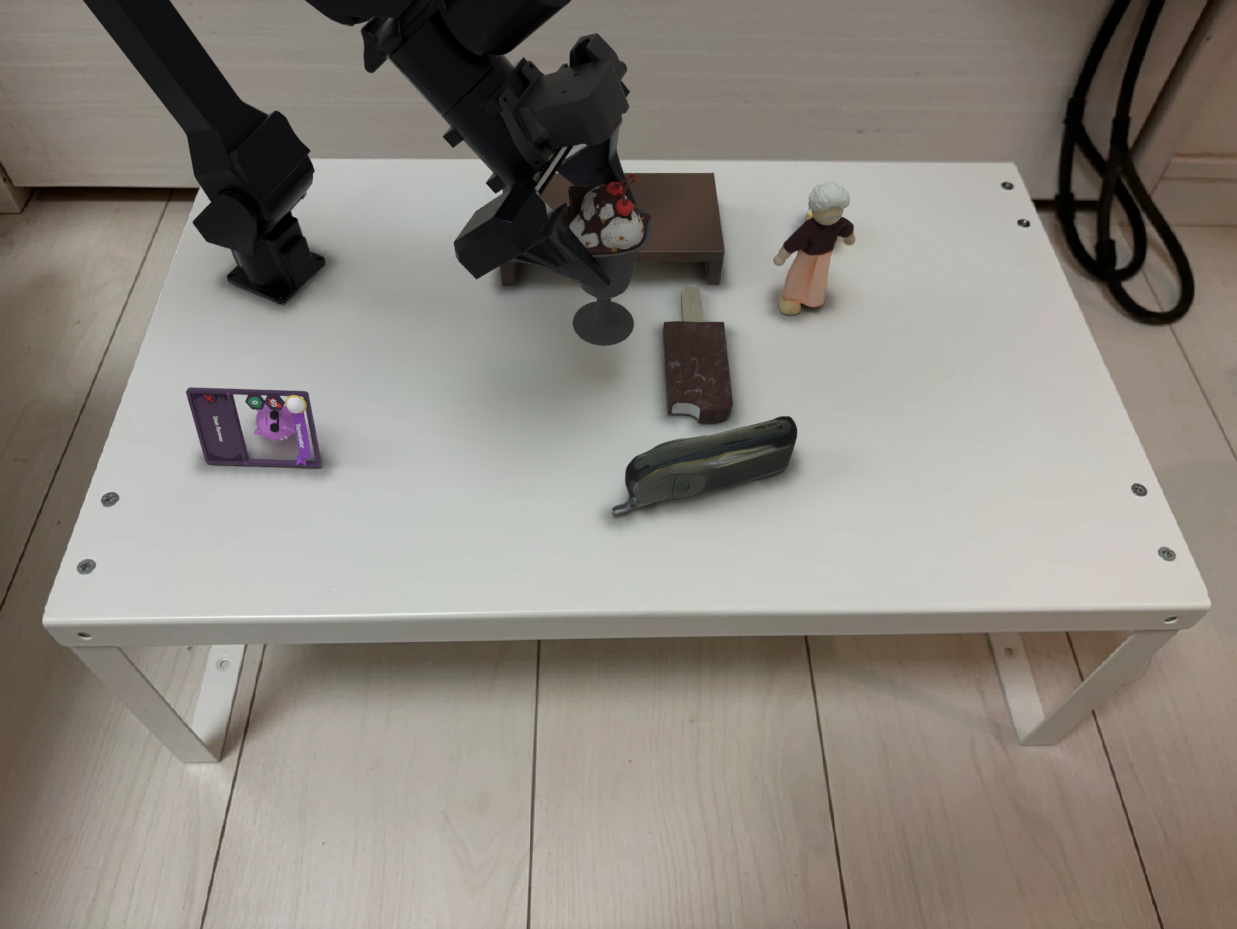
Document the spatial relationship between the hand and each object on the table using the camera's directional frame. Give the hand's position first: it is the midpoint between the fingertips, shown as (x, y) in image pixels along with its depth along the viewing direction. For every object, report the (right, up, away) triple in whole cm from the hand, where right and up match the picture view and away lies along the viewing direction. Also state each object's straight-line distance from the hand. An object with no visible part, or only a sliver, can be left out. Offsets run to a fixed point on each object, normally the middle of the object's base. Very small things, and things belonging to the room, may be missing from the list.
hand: (623, 256), depth 68 cm
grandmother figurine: (+17, 0, +17) cm, 24 cm away
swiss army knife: (+6, -17, +5) cm, 18 cm away
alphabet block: (+19, +7, +22) cm, 30 cm away
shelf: (-1, +6, +20) cm, 21 cm away
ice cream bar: (+6, -6, +12) cm, 15 cm away
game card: (-28, -14, +6) cm, 32 cm away
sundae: (-1, -4, +7) cm, 8 cm away
